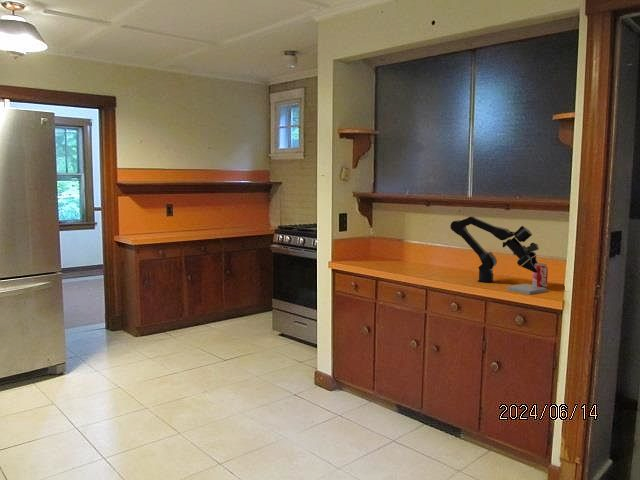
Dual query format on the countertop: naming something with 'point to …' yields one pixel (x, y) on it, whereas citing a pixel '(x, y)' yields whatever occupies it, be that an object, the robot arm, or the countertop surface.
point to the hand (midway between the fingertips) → (538, 271)
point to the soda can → (540, 275)
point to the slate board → (527, 289)
